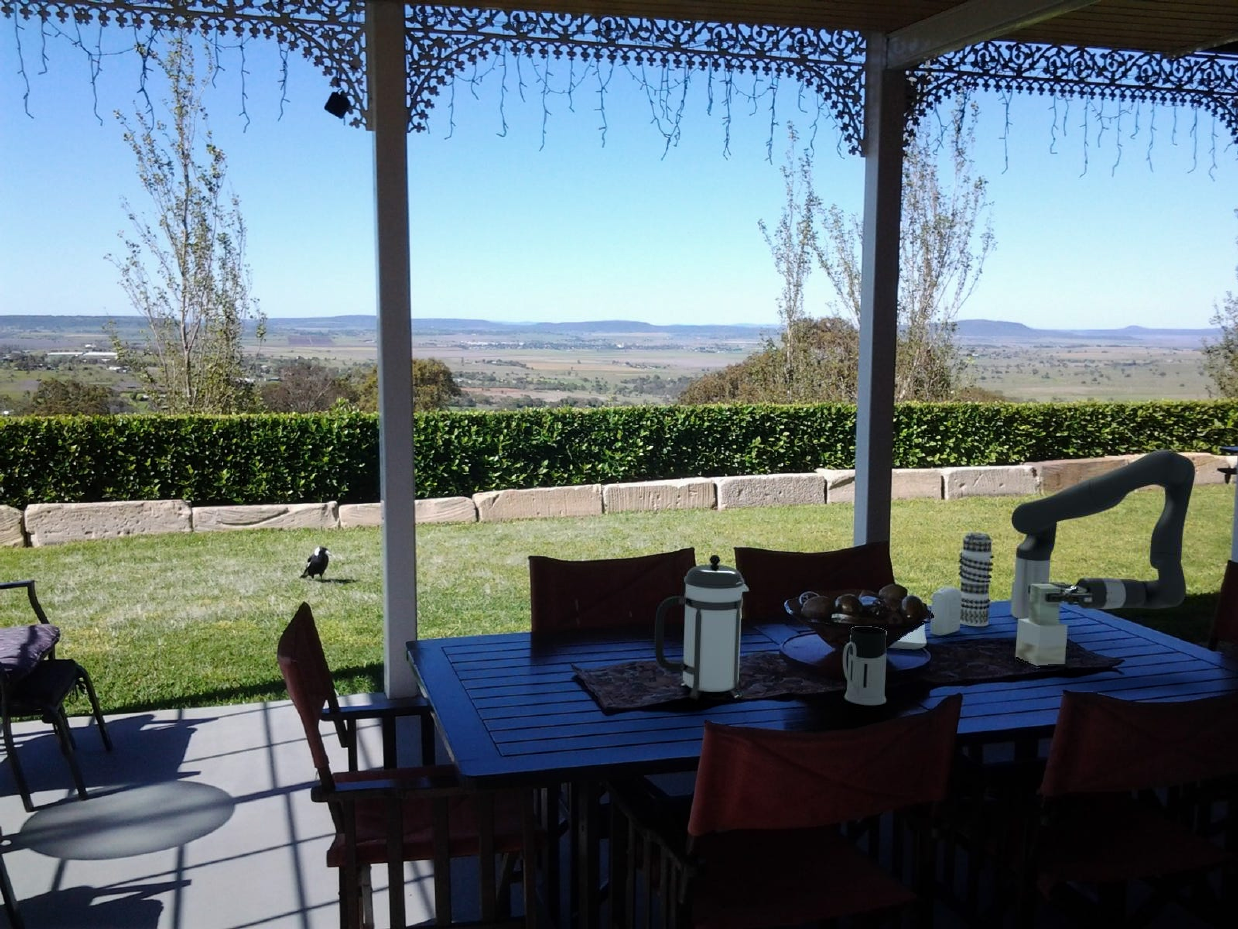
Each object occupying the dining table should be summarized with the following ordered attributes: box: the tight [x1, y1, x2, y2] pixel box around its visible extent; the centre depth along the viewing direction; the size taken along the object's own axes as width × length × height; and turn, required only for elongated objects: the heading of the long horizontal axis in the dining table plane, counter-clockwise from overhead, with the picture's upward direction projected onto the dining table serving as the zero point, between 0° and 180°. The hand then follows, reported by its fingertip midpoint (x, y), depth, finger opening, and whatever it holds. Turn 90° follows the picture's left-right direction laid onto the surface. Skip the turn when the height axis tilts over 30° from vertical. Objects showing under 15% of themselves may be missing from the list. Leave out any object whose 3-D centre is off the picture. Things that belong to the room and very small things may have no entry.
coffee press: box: [654, 554, 750, 700], centre depth 236 cm, size 17×16×30 cm
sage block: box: [1028, 584, 1061, 625], centre depth 266 cm, size 5×5×9 cm
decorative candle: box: [958, 532, 995, 627], centre depth 305 cm, size 9×9×25 cm
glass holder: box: [842, 626, 887, 706], centre depth 233 cm, size 9×14×15 cm, turn 138°
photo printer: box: [929, 585, 962, 636], centre depth 294 cm, size 10×4×12 cm, turn 134°
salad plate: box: [890, 623, 927, 650], centre depth 284 cm, size 21×21×3 cm
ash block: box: [1015, 638, 1067, 666], centre depth 268 cm, size 8×8×5 cm
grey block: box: [1016, 618, 1068, 648], centre depth 267 cm, size 8×8×5 cm
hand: (1037, 593), depth 266 cm, fingers open, 8 cm apart
